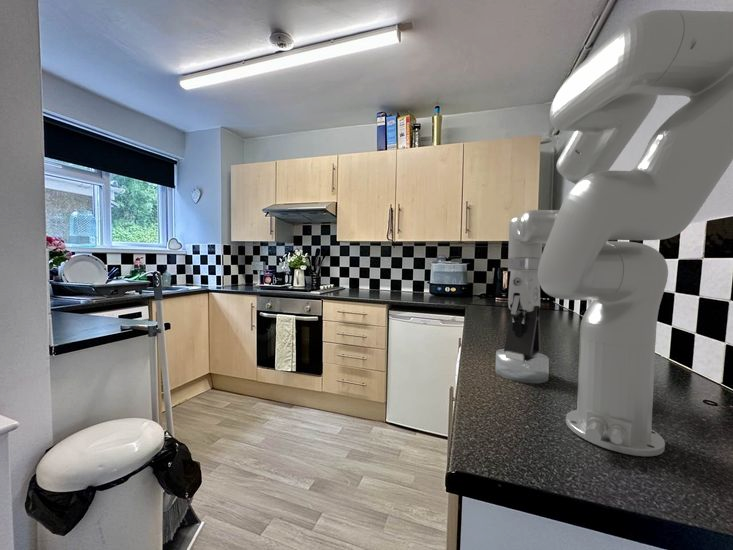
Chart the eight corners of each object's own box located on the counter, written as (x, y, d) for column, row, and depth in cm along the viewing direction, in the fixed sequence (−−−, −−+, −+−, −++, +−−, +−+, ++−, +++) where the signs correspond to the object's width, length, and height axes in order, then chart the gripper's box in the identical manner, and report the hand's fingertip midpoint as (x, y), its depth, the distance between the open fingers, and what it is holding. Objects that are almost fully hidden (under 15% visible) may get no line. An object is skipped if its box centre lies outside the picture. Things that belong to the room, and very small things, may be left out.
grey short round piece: (540, 387, 69) (541, 358, 69) (487, 373, 78) (488, 348, 78) (553, 374, 78) (554, 349, 78) (505, 363, 86) (506, 340, 86)
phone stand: (529, 357, 72) (532, 306, 72) (503, 351, 76) (506, 303, 76) (541, 351, 78) (544, 305, 78) (516, 346, 83) (519, 302, 83)
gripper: (530, 265, 68) (527, 346, 69) (550, 266, 80) (547, 335, 81) (496, 265, 74) (494, 340, 74) (519, 266, 85) (517, 331, 86)
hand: (522, 337), depth 77 cm, fingers open, 3 cm apart
